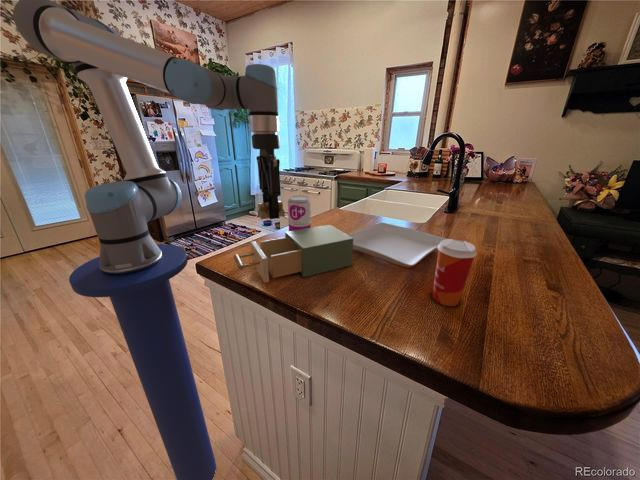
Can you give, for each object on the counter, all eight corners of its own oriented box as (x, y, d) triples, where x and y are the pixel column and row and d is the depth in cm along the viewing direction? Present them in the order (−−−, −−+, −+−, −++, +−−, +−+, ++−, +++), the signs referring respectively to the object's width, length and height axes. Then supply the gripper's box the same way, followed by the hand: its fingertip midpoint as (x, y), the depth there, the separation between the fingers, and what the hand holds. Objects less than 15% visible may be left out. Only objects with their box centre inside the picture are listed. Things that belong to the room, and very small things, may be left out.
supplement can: (306, 242, 92) (306, 201, 86) (285, 239, 94) (283, 199, 88) (313, 234, 99) (313, 196, 93) (293, 232, 101) (292, 194, 96)
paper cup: (430, 286, 65) (440, 235, 60) (464, 295, 62) (478, 242, 56) (425, 302, 59) (435, 247, 54) (462, 313, 55) (477, 255, 50)
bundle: (279, 213, 82) (278, 199, 80) (284, 217, 78) (284, 202, 76) (257, 216, 79) (256, 201, 77) (262, 220, 75) (261, 204, 73)
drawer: (242, 288, 62) (239, 263, 60) (233, 266, 73) (230, 244, 70) (315, 270, 71) (315, 248, 68) (298, 253, 81) (297, 233, 79)
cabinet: (303, 277, 69) (303, 248, 66) (286, 257, 80) (285, 231, 77) (351, 265, 76) (353, 238, 73) (329, 248, 87) (330, 224, 84)
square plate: (448, 248, 87) (451, 238, 86) (410, 277, 69) (412, 264, 68) (380, 229, 105) (381, 220, 103) (336, 248, 87) (336, 237, 86)
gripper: (290, 133, 64) (294, 222, 73) (268, 133, 78) (273, 207, 87) (261, 133, 60) (268, 226, 69) (243, 133, 75) (251, 210, 84)
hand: (271, 215), depth 78 cm, fingers closed on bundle, 5 cm apart
